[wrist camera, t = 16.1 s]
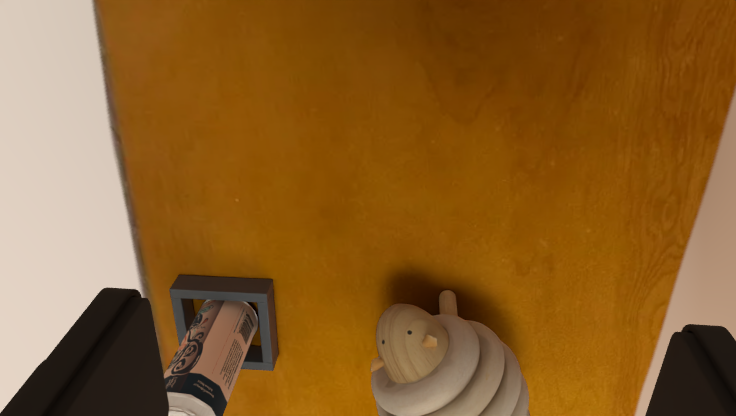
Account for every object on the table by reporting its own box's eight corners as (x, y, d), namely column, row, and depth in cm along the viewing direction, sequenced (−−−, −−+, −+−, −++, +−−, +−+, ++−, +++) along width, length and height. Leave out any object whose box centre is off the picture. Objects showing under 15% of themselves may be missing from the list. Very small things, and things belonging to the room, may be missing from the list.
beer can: (209, 282, 47) (147, 394, 36) (267, 303, 47) (222, 420, 37) (194, 327, 49) (131, 445, 38) (250, 347, 49) (203, 469, 39)
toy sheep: (447, 235, 43) (454, 333, 33) (564, 385, 49) (600, 508, 39) (333, 302, 47) (309, 410, 37) (454, 435, 52) (461, 560, 42)
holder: (178, 274, 47) (169, 289, 45) (272, 279, 46) (266, 294, 44) (191, 349, 50) (182, 365, 48) (278, 354, 49) (273, 371, 48)
